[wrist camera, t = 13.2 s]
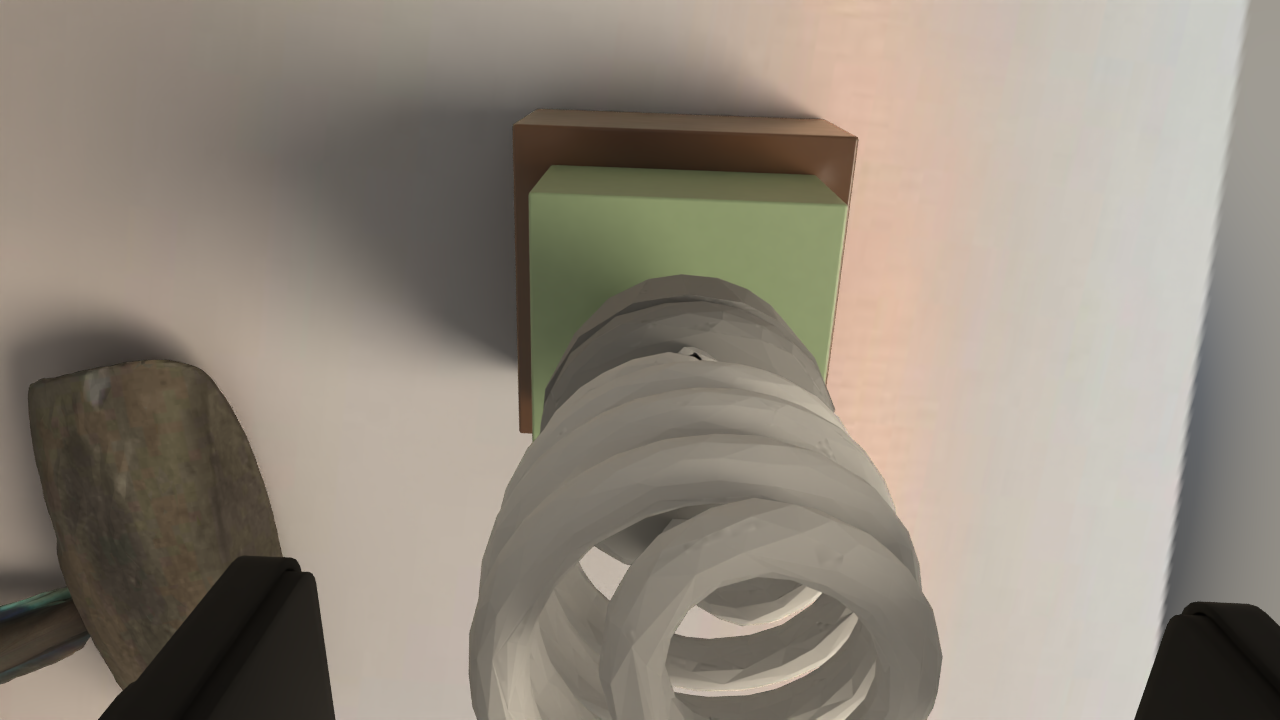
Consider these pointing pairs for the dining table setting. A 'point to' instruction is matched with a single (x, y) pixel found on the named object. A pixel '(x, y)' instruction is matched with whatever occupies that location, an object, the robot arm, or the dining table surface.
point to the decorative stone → (145, 498)
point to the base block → (662, 147)
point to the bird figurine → (39, 633)
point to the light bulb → (698, 532)
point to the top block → (678, 247)
